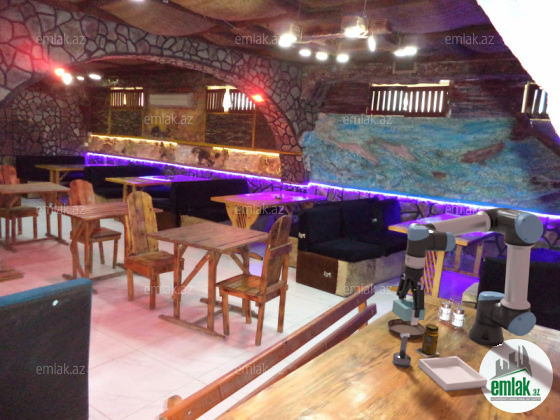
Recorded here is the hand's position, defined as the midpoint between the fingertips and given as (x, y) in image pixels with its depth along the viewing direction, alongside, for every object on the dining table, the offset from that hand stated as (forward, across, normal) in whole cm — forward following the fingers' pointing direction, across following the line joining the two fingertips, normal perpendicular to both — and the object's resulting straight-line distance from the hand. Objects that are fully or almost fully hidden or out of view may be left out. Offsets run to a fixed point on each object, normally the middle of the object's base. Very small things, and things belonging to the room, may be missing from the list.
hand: (407, 319), depth 179 cm
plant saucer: (+20, -27, +18) cm, 38 cm away
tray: (+19, +12, +15) cm, 27 cm away
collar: (-2, 0, 0) cm, 2 cm away
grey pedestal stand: (+19, 0, 0) cm, 19 cm away
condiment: (+20, -7, +17) cm, 27 cm away
